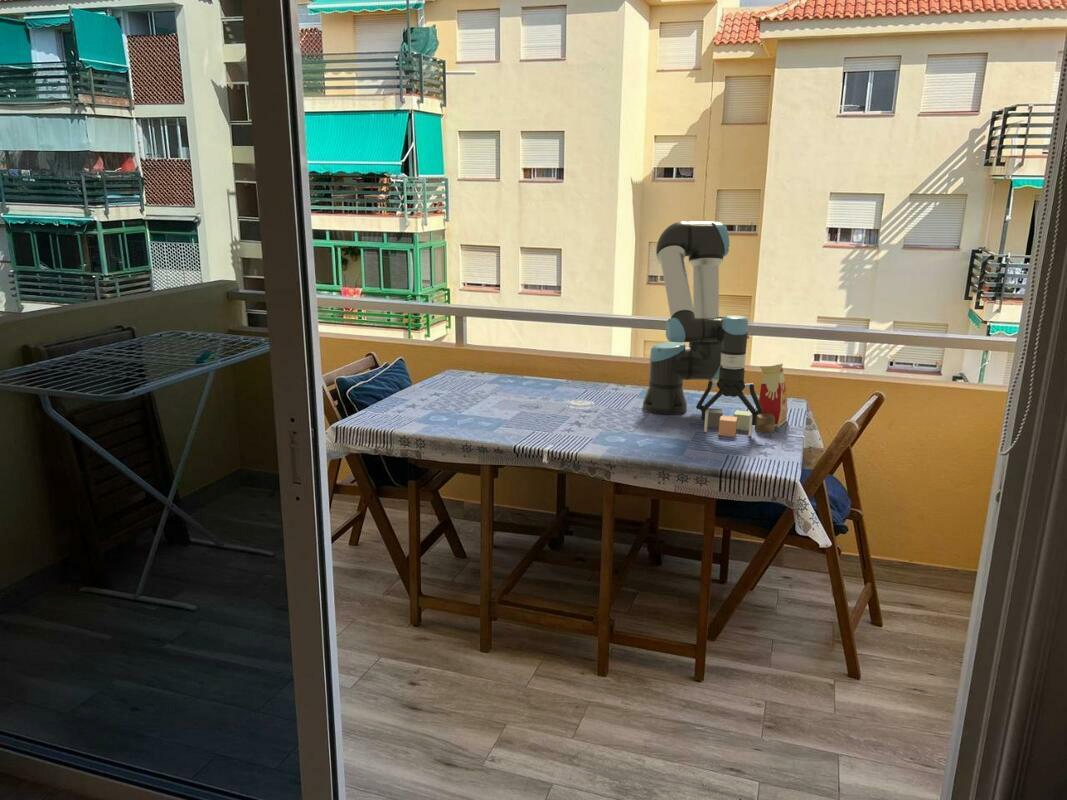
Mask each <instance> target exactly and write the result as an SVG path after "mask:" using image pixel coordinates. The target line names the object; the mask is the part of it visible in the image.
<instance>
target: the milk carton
mask: <svg viewBox="0 0 1067 800" xmlns="http://www.w3.org/2000/svg"><path fill="white" fill-rule="evenodd" d="M783 365H784V363H779V364H774V365H760V366H759V368H760V370H761V381H760V387H759V394H758V400H759V402H760V404H761V407H762V409H763V413H762V414H773V416H774V417H775V426H774V427H776V426H777V428H779V427H781V426H782V425H784V424H785V423H786V422H785V421H786V420H787V421H788V399H787V397H788V396H787V386H786V381H785V380H786V379H785V373H784V368H783ZM780 425H781V426H780Z"/></svg>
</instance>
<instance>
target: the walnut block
mask: <svg viewBox="0 0 1067 800" xmlns="http://www.w3.org/2000/svg"><path fill="white" fill-rule="evenodd" d="M775 427H776V426H775V417H774V416H773V414H759V415H757V416H756V424H755V425H754V429H755V431H756V430H757V431H756V432H757V433H758V432H761V433H762V434H774V433H775ZM761 433H760V434H761Z"/></svg>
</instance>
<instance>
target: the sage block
mask: <svg viewBox="0 0 1067 800" xmlns="http://www.w3.org/2000/svg"><path fill="white" fill-rule="evenodd" d="M750 414H752V413H751V412H750V411H749V410H747V411H746V410H738V409H736V410H735V412H733V417H737V425H736V430H739V429H740V430H741V431H747V430H749V421H750ZM740 430H739V431H740Z"/></svg>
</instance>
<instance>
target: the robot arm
mask: <svg viewBox="0 0 1067 800" xmlns="http://www.w3.org/2000/svg"><path fill="white" fill-rule="evenodd" d="M655 249H656V250H655V253H656V259H657V262H658V263H659V264H660V265H661V271H662V276H663V282H664V287H665V291H666V292H665V293H666V300H667V304H668V310H669V313H670V314H669V316H670V318H668V319H667V320H666V322H665V337H666V339H667V341H665V342H664V341H663V342H660V343H656V344H654V345H653V346H652V347H651V348H650V354H649V355H650V356H649V359H648V360H649V371H648V372H649V373H648V374H649V377H648V378H649V379H648V388H647V390H646V393H645V396H644V397H643V398H644V399H643V402H642V410H644V411H645V412H648V413H651V414H655V415H669V416H670V415H679V414H683V413H685V412H686V411H687V407H688V403H687V400H686V395H685V392H684V388H683V387H684V386H683V384H684V381H696V380H697V381H701V380H702V381H705V380H706V381H707V380H708V383H707V387H706V389H705V390H704V392H703V394H702V395H701V397H700V399H699V401H698V402H697V404H696V406H695V408H696V409H697V410H700V411H701V421H702V422H704V427H703V432H704V433H707V432H708V428H709V427H708V412H709V410H707V409H708V408H710V407H711V406H712V405H713V404H714V403H715V402H716V401H717V400H718V399H719V398H720V397H721V396H722V395H723V396H724V397H732V398H736V397H738V398H739V399H740V400H741V402H742V403H743V404H744V405H745V407H746V408H747V409H748V412H751V413H752V414H750V421H749V431H748V437H751V436H752V430H753V429H752V427H753V426H755V424H756V416H757V415H759V414H762V413H763V409H762V407H761V404H760V402H759V396H758V395H757V392H756V391H755V383H754V382H750V383H745V372H746V371H745V366H746V358H747V357H746V356H747V346H748V345H747V343H748V332H749V320H748V317H746V316H742V315H726V316H720V308H719V307H720V302H719V301H720V300H719V299H720V290H719V289H720V287H719V286H720V282H719V281H720V278H719V277H720V276H719V275H720V273H719V272H720V271H719V269H720V265H721V264H722V263H723V262H724V257H726V256H728V254H729V251H730V236H729V232H728V229H727V226H726V225H725V224H723V223H722V222H719V221H712V220H709V221H677V222H674V223H671V224H670V225H669V226H667V227H666V228H665V229H664V230H663V231H662V232H661V234H660V236H659V238H658V241H657V243H656V248H655ZM686 257H688V263H689V264H690V265H691V266H692V268H693V270H692V272H693V273H692V275H693V277H692V280H693V287H692V288H693V296H692V295H691V292H690V291H691V289H690V285H689V280H688V275H687V274H688V273H687V270H686V265H685V264H686V263H685V258H686ZM692 297H693V300H692ZM685 343H688V345H686V344H685ZM716 380H717V381H716ZM716 386H717V388H718V391H717V392H715V394H714V395H713V396H712V397H711V398H710V399H709V400H708V401H707V402H706V403H704V402H705V400H706V399H707V397H708V395H709V394H710V392H711V390H712V389H714V388H715V387H716ZM745 388H746V390H747V391H748V392H749V393H750V396H751V398H752V401H753V403H754V405H755V407H754V406H753V404H752V403H751V402H750V400H749V399H748V398H747V396H746V395H745V393H744V392H743V390H744V389H745ZM703 403H704V405H703ZM755 408H756V409H755Z"/></svg>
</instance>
